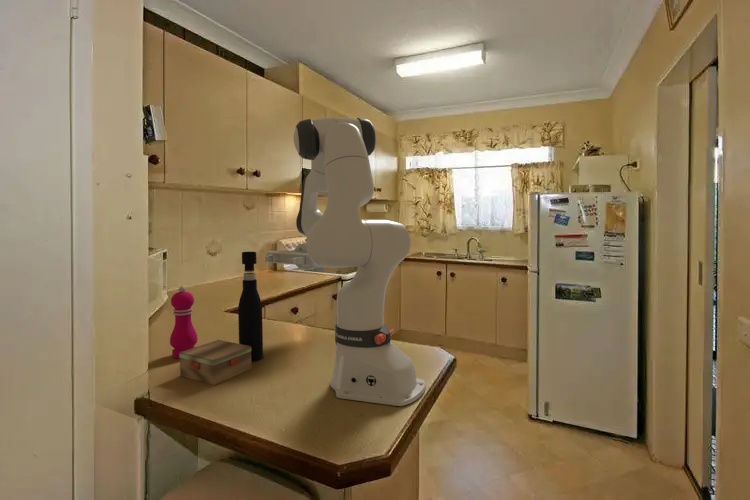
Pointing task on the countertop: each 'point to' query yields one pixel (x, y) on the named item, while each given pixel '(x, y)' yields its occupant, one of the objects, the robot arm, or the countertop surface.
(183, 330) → the pepper mill
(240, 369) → the wooden box
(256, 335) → the black bottle
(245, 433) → the countertop surface
